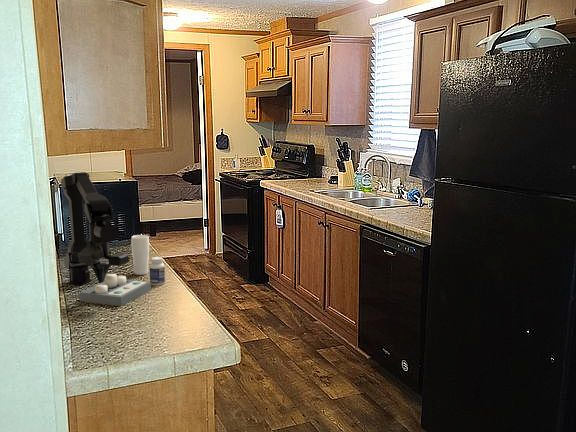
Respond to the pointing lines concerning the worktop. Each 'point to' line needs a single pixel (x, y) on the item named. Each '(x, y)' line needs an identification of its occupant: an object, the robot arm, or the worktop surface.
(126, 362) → the worktop surface
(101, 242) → the robot arm
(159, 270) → the pill bottle
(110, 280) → the button
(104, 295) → the button board
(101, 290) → the button
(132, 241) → the white tall cylinder
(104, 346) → the worktop surface
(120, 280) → the button
